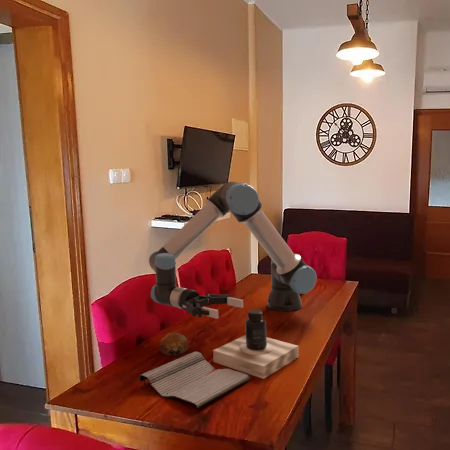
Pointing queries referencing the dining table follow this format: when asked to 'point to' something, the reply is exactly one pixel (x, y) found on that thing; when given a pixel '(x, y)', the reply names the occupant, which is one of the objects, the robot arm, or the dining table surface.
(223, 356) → the stand
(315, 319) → the dining table surface
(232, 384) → the mat
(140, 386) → the dining table surface
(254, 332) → the supplement bottle
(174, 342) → the bread roll
